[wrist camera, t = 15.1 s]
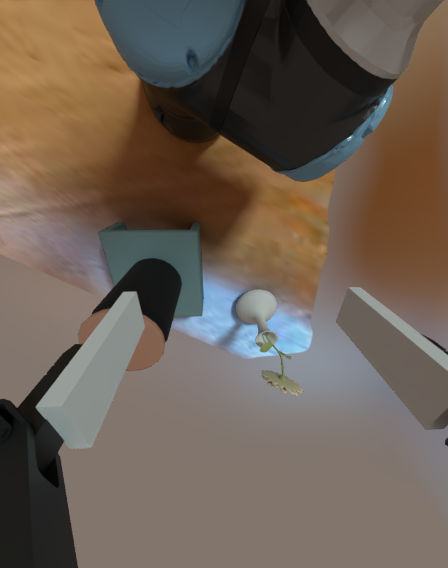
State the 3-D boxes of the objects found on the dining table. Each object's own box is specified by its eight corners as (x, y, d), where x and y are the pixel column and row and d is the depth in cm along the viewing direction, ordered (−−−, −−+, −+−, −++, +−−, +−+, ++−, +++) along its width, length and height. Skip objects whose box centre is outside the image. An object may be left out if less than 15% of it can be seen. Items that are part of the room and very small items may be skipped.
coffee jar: (119, 272, 40) (58, 336, 24) (160, 245, 37) (121, 297, 22) (154, 308, 44) (122, 380, 29) (192, 286, 42) (180, 352, 26)
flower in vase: (226, 304, 55) (235, 390, 33) (257, 278, 51) (290, 355, 29) (256, 328, 60) (281, 416, 38) (286, 306, 56) (333, 389, 34)
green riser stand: (116, 222, 43) (98, 232, 36) (199, 222, 43) (197, 231, 36) (136, 298, 52) (124, 318, 45) (203, 297, 53) (202, 316, 46)
